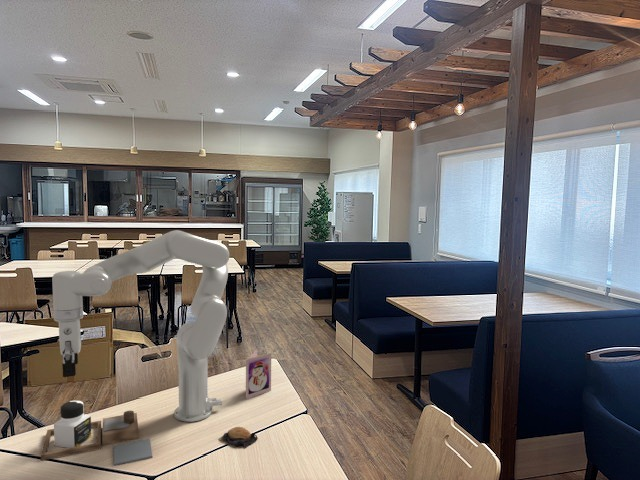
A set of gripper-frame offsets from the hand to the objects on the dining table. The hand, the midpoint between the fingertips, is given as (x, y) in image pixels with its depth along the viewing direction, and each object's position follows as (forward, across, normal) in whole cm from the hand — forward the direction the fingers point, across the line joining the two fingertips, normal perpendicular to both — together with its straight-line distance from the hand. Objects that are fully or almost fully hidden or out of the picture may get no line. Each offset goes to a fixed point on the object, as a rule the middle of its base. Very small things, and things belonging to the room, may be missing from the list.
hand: (70, 370), depth 134 cm
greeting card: (+22, +12, -60) cm, 65 cm away
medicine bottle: (+22, 0, 0) cm, 22 cm away
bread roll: (+23, -18, -46) cm, 55 cm away
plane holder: (+22, 0, -5) cm, 23 cm away
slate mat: (+22, -13, -16) cm, 30 cm away
